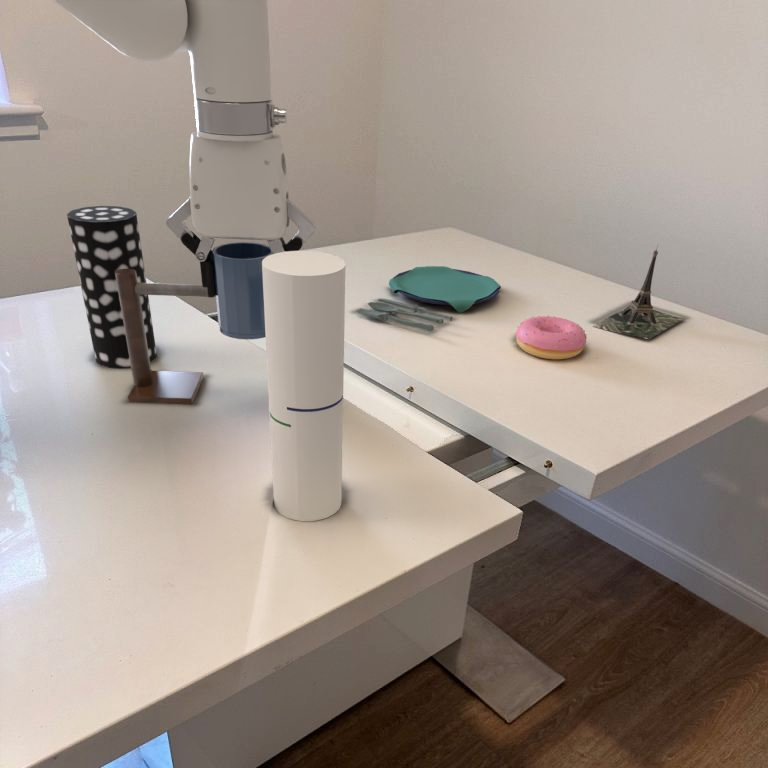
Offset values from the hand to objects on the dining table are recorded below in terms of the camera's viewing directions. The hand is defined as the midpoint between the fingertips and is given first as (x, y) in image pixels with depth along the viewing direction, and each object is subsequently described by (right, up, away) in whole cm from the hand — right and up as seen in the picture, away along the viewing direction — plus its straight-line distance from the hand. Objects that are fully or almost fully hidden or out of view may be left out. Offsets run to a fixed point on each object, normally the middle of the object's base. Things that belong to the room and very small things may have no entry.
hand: (246, 293), depth 82 cm
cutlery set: (+24, +13, +47) cm, 54 cm away
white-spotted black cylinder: (-21, -4, +20) cm, 29 cm away
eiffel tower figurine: (+60, +8, +43) cm, 74 cm away
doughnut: (+42, +1, +31) cm, 52 cm away
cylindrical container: (+8, -24, -6) cm, 26 cm away
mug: (0, -2, +4) cm, 5 cm away
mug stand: (-10, -10, +13) cm, 19 cm away
